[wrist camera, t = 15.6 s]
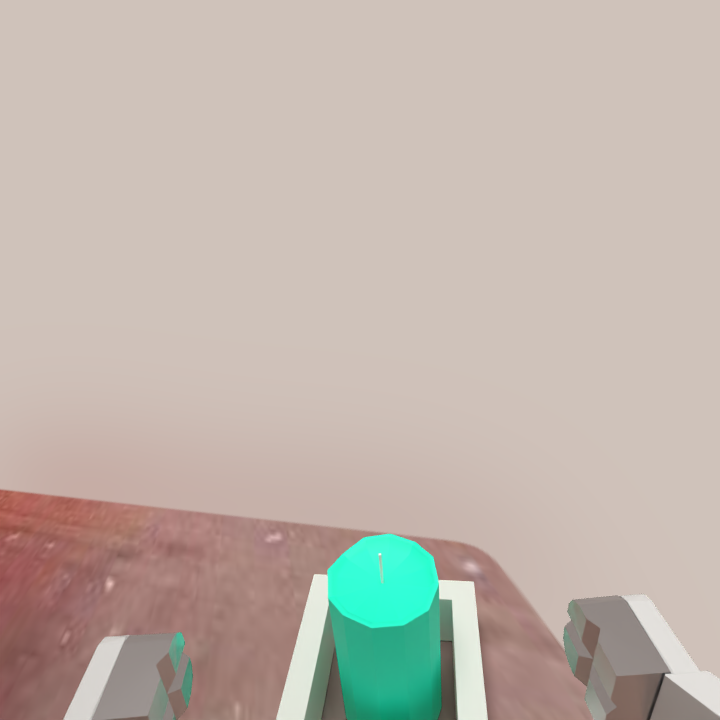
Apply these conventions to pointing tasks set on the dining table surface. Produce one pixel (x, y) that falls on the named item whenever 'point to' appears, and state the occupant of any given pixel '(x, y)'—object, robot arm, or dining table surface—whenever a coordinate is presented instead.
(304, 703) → the frame
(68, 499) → the dining table surface
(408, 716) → the candle
